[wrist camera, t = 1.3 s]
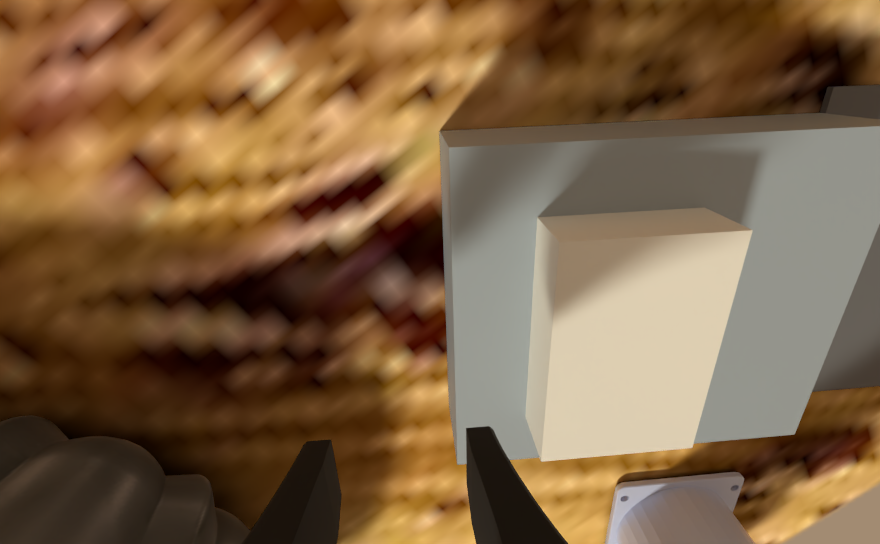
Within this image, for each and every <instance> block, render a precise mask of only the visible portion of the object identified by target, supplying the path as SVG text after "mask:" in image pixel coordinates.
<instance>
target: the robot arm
mask: <svg viewBox="0 0 880 544" xmlns="http://www.w3.org/2000/svg"><path fill="white" fill-rule="evenodd" d="M466 459H467V488H468V496H469V504H470V512H471V519H472V526H473V530H474V535H475V539H476V544H568V543H567V542H566V541H565V539H564V538H563V537H562V536H561V534H560V533H559V532H558V530H557V529H556V528H555V527H554V525H553V524H552V523H551V521H550V520H549V519H548V517H547V516H546V515H545V513H544V512H543V511H542V509H541V508H540V506H539V505H538V504H537V502H536V501H535V499H534V498H533V496H532V495H531V493H530V492H529V490H528V489H527V487H526V486H525V484H524V483H523V481H522V480H521V478H520V477H519V475H518V474H517V472H516V471H515V469H514V467H513V466H512V464H511V462H510V460H509V459H508V457H507V455H506V454H505V452H504V450H503V448H502V446H501V444H500V443H499V441H498V439H497V437H496V434H495V432H494V430H493V429H492V428H491V427H490V426H484V427H473V428H466ZM743 483H744V478H743V476H742V475H741V474H740V473H739V472H727V473H716V474H706V475H695V476H684V477H673V478H663V479H652V480H641V481H631V482H622V483H620V484H618V485H617V486H616V488H615V493H614V498H613V503H612V509H611V514H610V519H609V525H608V530H607V535H606V541H605V544H755V542H754V541H753V540H752V538H751V537H750V536H749V534H748V533H747V532H746V530H745V529H744V528H743V526H742V525H741V524H740V522H739V521H738V519H737V518H736V517H735V515H734V514H733V510H734V508H735V505H736V502H737V499H738V496H739V494H740V491H741V488H742V485H743ZM340 506H341V490H340V485H339V479H338V474H337V469H336V463H335V458H334V453H333V447H332V442H331V440H319V441H308V442H306V443H305V444H304V445H303V447H302V449H301V451H300V453H299V454H298V456H297V458H296V460H295V462H294V463H293V465H292V467H291V468H290V470H289V472H288V474H287V475H286V477H285V479H284V480H283V482H282V484H281V485H280V487H279V488H278V490H277V492H276V493H275V495H274V496H273V498H272V499H271V501H270V503H269V504H268V506H267V507H266V509H265V510H264V512H263V513H262V515H261V517H260V518H259V520H258V521H257V522H256V524H255V525H254V527H253V528H252V530H251V531H250V532H249V534H248V535H247V537H246V538H245V540H244V541H243V542H242V544H337V539H338V530H339V519H340Z"/></svg>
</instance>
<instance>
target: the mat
mask: <svg viewBox="0 0 880 544" xmlns="http://www.w3.org/2000/svg"><path fill="white" fill-rule="evenodd" d="M820 113H827V114H835V115H844V116H853V117H862V118H870V119H879V120H880V85H859V86H837V87H827V90H826V93H825V96H824V100H823V103H822V106H821V109H820ZM874 386H880V224H879V227H878V229H877V232H876V234H875V237H874V239H873V242H872V244H871V247H870V249H869V251H868V254H867V256H866V259H865V261H864V264H863V266H862V269H861V271H860V274H859V276H858V279H857V281H856V284H855V286H854V289H853V291H852V294H851V296H850V299H849V301H848V304H847V306H846V308H845V311H844V313H843V316H842V318H841V321H840V323H839V326H838V328H837V331H836V333H835V336H834V338H833V341H832V343H831V346H830V348H829V351H828V353H827V356H826V358H825V360H824V363H823V365H822V368H821V370H820V373H819V375H818V378H817V380H816V383H815V385H814V388H813V390H812V392H814V391H826V390H838V389H850V388H862V387H874Z"/></svg>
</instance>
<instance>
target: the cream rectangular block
mask: <svg viewBox="0 0 880 544" xmlns="http://www.w3.org/2000/svg"><path fill="white" fill-rule="evenodd" d="M752 231H753V230H751V229H749V228H747V227H745V226H743V225H741V224H739V223H737V222H734V221H732V220H730V219H728V218H726V217H724V216H722V215H720V214H717V213H715V212H713V211H711V210H709V209H707V208H705V207H702V208H686V209H669V210H652V211H635V212H618V213H601V214H584V215H567V216H550V217H537V230H536V247H535V264H534V280H533V297H532V314H531V331H530V347H529V364H528V381H527V398H526V415H525V417H526V420H527V423H528V426H529V429H530V431H531V434H532V437H533V440H534V443H535V446H536V448H537V451H538V454H539V457H540V460H541V462H542V461H553V460H564V459H575V458H586V457H597V456H608V455H619V454H631V453H642V452H653V451H664V450H675V449H686V448H692V447H693V444H694V440H695V436H696V433H697V429H698V426H699V422H700V418H701V415H702V411H703V408H704V404H705V400H706V397H707V393H708V390H709V386H710V382H711V379H712V375H713V372H714V368H715V364H716V361H717V357H718V354H719V350H720V346H721V343H722V339H723V336H724V332H725V328H726V325H727V321H728V318H729V314H730V310H731V307H732V303H733V300H734V296H735V293H736V289H737V285H738V282H739V278H740V275H741V271H742V267H743V264H744V260H745V257H746V253H747V249H748V246H749V242H750V239H751V235H752Z"/></svg>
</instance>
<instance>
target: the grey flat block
mask: <svg viewBox="0 0 880 544" xmlns="http://www.w3.org/2000/svg"><path fill="white" fill-rule="evenodd" d="M439 132H440V161H441V190H442V218H443V247H444V276H445V305H446V333H447V362H448V391H449V408H450V415H451V422H452V429H453V436H454V444H455V451H456V458H457V465H459V464H467V459H466V428H473V427H484V426H490V427H491V428H492V429H493V430H494V432H495V434H496V437H497V439H498V441H499V443H500V444H501V446H502V448H503V450H504V452H505V454H506V455H507V457H508V459H509V460H515V459H526V458H538V457H539V454H538V451H537V448H536V446H535V443H534V440H533V437H532V434H531V431H530V429H529V426H528V423H527V420H526V417H525V415H526V398H527V381H528V364H529V347H530V331H531V314H532V297H533V280H534V264H535V247H536V230H537V217H550V216H567V215H584V214H601V213H618V212H635V211H652V210H669V209H686V208H702V207H705V208H707V209H709V210H711V211H713V212H715V213H717V214H720V215H722V216H724V217H726V218H728V219H730V220H732V221H734V222H737V223H739V224H741V225H743V226H745V227H747V228H749V229H751V230H753V231H752V235H751V239H750V242H749V246H748V249H747V253H746V257H745V260H744V264H743V267H742V271H741V275H740V278H739V282H738V285H737V289H736V293H735V296H734V300H733V303H732V307H731V310H730V314H729V318H728V321H727V325H726V328H725V332H724V336H723V339H722V343H721V346H720V350H719V354H718V357H717V361H716V364H715V368H714V372H713V375H712V379H711V382H710V386H709V390H708V393H707V397H706V400H705V404H704V408H703V411H702V415H701V418H700V422H699V426H698V429H697V433H696V436H695V440H694V443H706V442H717V441H728V440H739V439H750V438H762V437H773V436H784V435H795V432H796V430H797V427H798V425H799V422H800V420H801V417H802V415H803V413H804V410H805V408H806V405H807V403H808V400H809V398H810V395H811V393H812V390H813V388H814V385H815V383H816V380H817V378H818V375H819V373H820V370H821V368H822V365H823V363H824V360H825V358H826V356H827V353H828V351H829V348H830V346H831V343H832V341H833V338H834V336H835V333H836V331H837V328H838V326H839V323H840V321H841V318H842V316H843V313H844V311H845V308H846V306H847V304H848V301H849V299H850V296H851V294H852V291H853V289H854V286H855V284H856V281H857V279H858V276H859V274H860V271H861V269H862V266H863V264H864V261H865V259H866V256H867V254H868V251H869V249H870V247H871V244H872V242H873V239H874V237H875V234H876V232H877V229H878V227H879V224H880V120H879V119H870V118H862V117H853V116H844V115H835V114H827V113H803V114H782V115H761V116H740V117H719V118H698V119H677V120H656V121H635V122H614V123H593V124H572V125H551V126H531V127H510V128H489V129H468V130H447V131H439Z"/></svg>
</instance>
